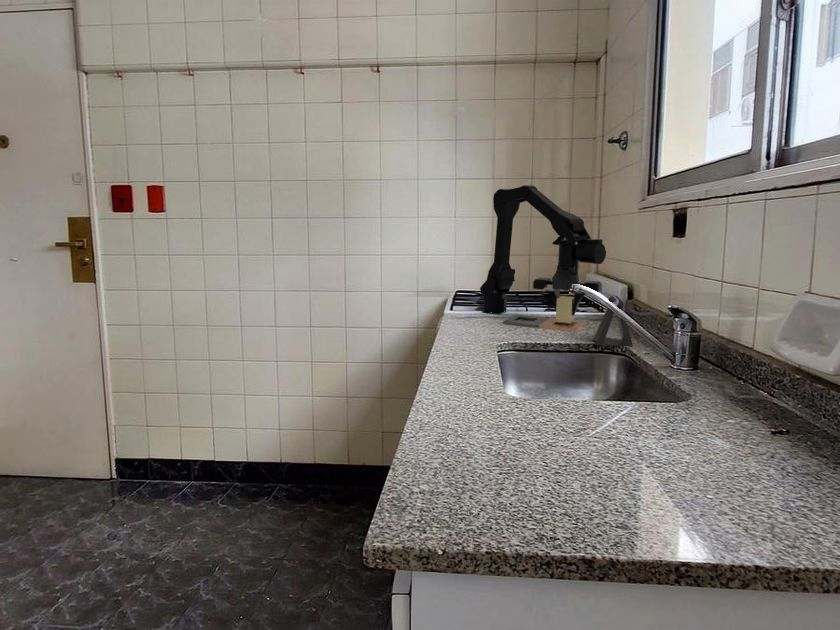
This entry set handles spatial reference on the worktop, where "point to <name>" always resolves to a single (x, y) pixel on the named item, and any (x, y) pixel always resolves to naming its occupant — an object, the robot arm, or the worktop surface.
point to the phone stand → (605, 326)
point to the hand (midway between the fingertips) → (565, 314)
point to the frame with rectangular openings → (544, 323)
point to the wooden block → (565, 309)
